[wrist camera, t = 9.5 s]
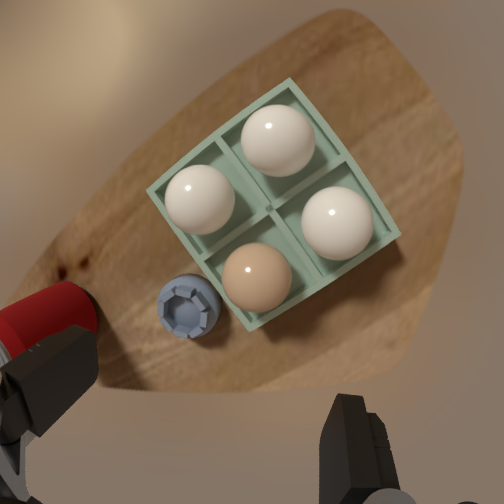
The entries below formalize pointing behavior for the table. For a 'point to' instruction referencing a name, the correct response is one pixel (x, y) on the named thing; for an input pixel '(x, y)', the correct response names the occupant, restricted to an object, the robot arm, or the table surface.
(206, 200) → the white egg
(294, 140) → the white egg
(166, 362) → the table surface
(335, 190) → the white egg
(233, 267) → the brown egg
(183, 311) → the egg cup
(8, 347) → the beverage can
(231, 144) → the egg carton
